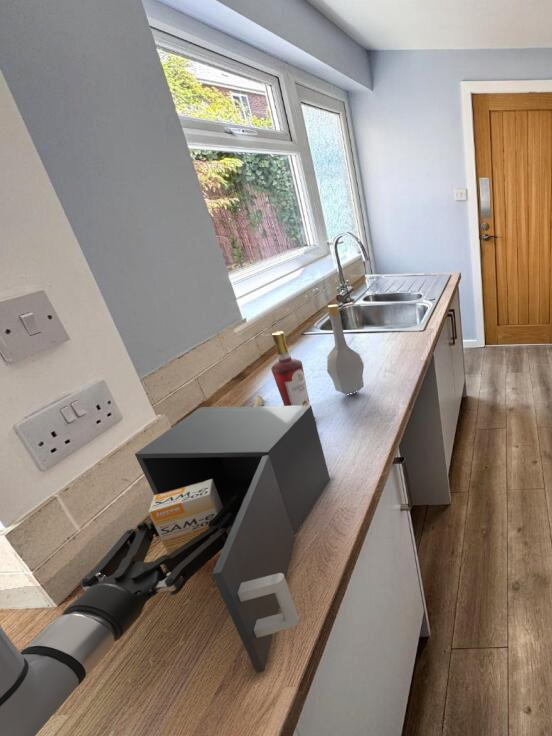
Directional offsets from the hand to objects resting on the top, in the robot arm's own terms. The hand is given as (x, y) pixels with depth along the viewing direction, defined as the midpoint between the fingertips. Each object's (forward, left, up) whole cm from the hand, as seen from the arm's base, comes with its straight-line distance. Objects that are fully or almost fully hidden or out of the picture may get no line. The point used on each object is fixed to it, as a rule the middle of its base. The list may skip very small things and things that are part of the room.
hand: (211, 501), depth 73 cm
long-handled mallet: (-45, +6, -11) cm, 47 cm away
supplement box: (+4, -3, -7) cm, 9 cm away
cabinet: (-8, +6, -11) cm, 14 cm away
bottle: (-47, +34, -11) cm, 59 cm away
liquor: (-37, +18, -11) cm, 43 cm away
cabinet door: (+18, +9, -10) cm, 23 cm away
